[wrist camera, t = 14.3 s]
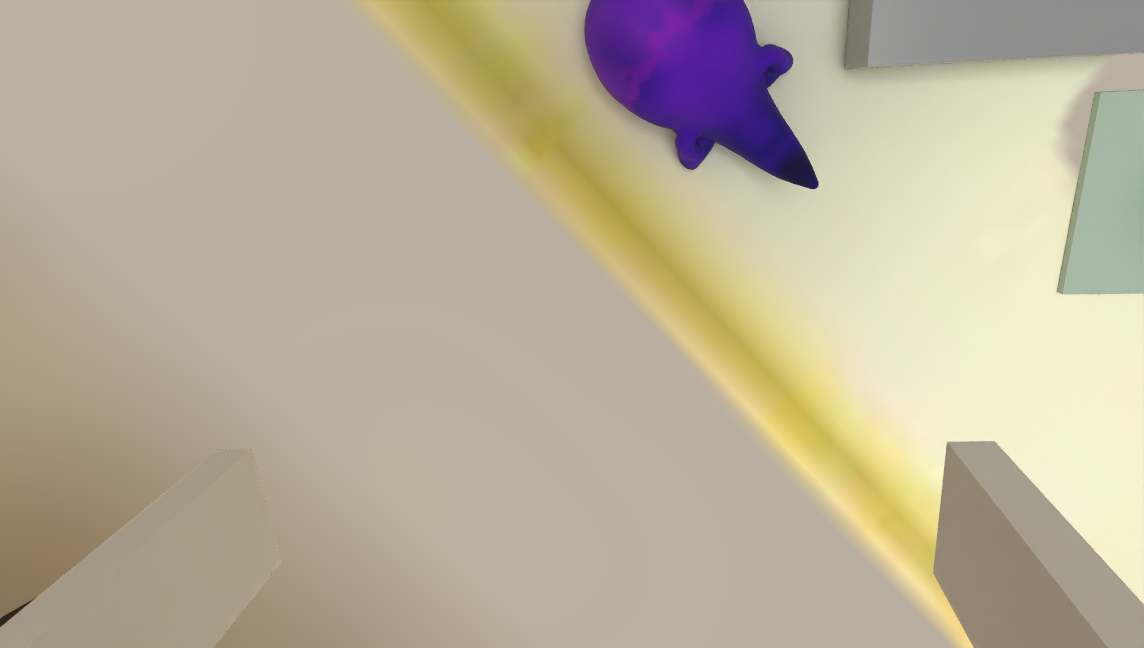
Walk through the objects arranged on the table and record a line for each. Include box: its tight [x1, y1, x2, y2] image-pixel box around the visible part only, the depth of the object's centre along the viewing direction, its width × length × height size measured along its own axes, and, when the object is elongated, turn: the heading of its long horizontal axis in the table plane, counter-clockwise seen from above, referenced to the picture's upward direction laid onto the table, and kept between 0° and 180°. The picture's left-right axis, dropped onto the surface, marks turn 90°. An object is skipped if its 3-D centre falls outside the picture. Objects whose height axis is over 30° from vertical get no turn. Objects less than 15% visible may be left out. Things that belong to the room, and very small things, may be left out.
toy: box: [585, 0, 818, 189], centre depth 38 cm, size 9×10×15 cm
